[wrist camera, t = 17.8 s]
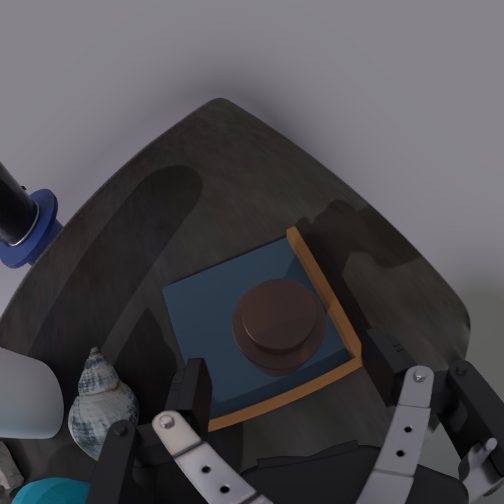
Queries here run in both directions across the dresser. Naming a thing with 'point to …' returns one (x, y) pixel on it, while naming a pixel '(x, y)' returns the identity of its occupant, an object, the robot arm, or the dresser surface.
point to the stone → (8, 473)
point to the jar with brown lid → (278, 326)
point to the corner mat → (222, 341)
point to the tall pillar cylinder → (28, 398)
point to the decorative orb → (53, 492)
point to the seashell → (100, 404)
